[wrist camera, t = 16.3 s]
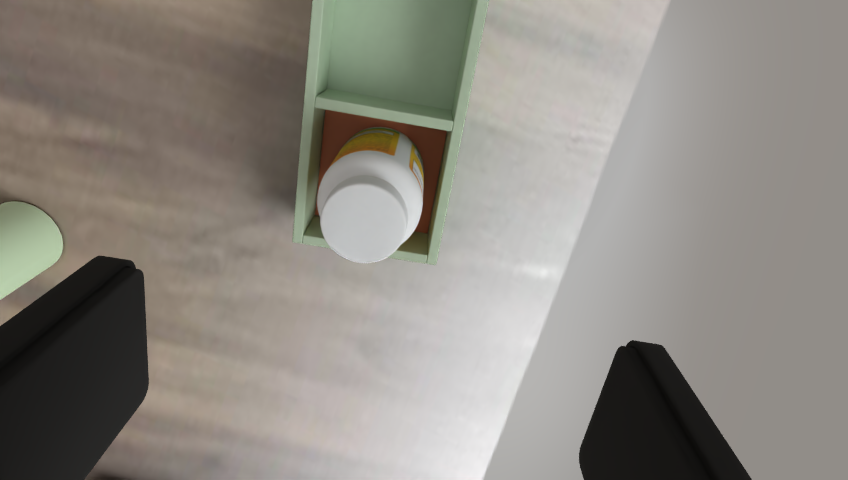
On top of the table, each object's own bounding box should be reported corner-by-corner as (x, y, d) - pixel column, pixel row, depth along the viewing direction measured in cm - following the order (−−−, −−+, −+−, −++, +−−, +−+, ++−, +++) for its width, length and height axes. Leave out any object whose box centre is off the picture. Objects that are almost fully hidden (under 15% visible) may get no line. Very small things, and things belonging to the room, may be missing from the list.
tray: (524, -218, 27) (540, -256, 23) (435, 239, 36) (436, 265, 32) (350, -255, 26) (336, -300, 22) (306, 218, 36) (291, 242, 32)
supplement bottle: (320, 174, 34) (280, 233, 25) (372, 106, 32) (349, 142, 23) (389, 225, 35) (374, 298, 26) (442, 162, 33) (445, 217, 24)
